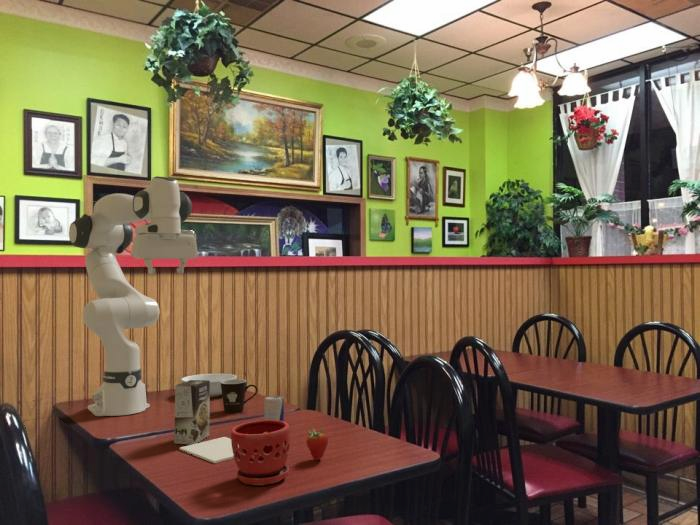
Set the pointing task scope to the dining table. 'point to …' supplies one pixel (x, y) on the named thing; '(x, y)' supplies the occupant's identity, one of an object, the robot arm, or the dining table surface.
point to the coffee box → (192, 411)
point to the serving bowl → (211, 381)
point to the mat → (211, 450)
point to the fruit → (317, 444)
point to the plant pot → (261, 451)
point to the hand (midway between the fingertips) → (166, 273)
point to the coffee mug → (234, 395)
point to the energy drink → (274, 408)
